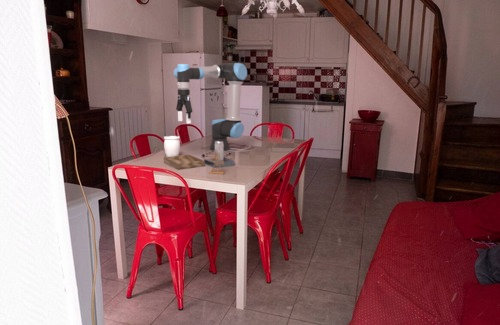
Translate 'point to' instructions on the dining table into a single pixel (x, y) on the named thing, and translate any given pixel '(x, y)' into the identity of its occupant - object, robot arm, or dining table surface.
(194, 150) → the dining table surface
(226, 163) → the hitch block
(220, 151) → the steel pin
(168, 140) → the jar
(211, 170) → the tan ornamental figurine
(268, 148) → the dining table surface
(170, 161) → the tray
